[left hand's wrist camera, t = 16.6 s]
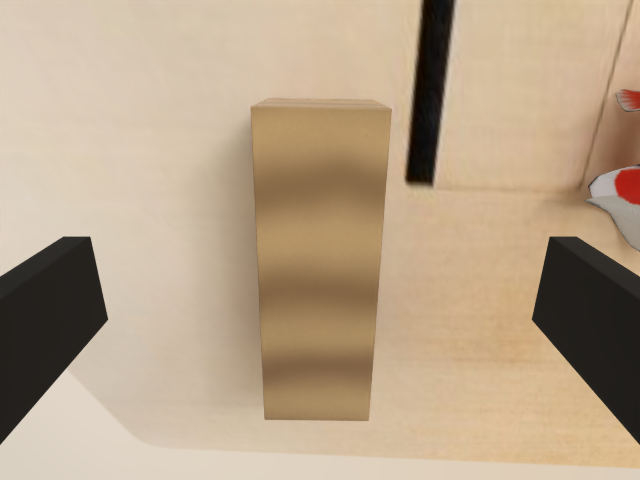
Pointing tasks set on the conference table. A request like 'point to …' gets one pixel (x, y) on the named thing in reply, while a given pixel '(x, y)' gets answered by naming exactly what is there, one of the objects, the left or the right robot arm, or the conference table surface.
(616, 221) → the fish
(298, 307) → the box
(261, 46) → the conference table surface
